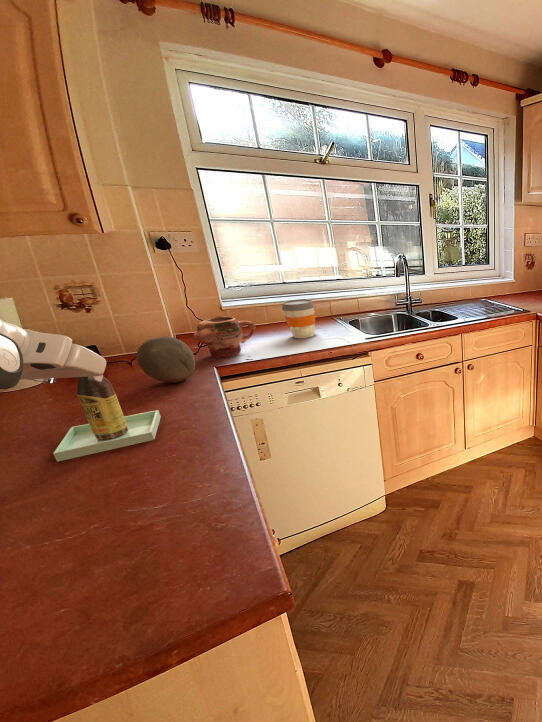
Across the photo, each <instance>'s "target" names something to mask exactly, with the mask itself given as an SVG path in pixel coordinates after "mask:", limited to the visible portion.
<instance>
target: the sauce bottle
mask: <svg viewBox="0 0 542 722" xmlns="http://www.w3.org/2000/svg"><path fill="white" fill-rule="evenodd" d="M117 396H118V395H117V394H116V392H115V390H114V387H113V385H112V382H111V381H110V380H108V378H106V377H105V376H103V379H102V381H101V382H92V381H90V380H88V377H77V388H76V397H77V398H78V400H79V404H80V406H81V408H82V411H83V413H84V415H85V418H86V420H87V422H88V423H87V424H89V425H90V428H91V430H92V432H93V434H94V435H95V437H96V438H97V439H99V440H109V439H113V438H116V437H119V436H121V435H123V434H125V433H126V432H127V431H128V428H127V423H126V421H125V418H124V417H125V415H124V412H123V410H122V408H121V404H120V402H119V399H118V397H117Z"/></svg>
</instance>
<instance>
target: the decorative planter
mask: <svg viewBox="0 0 542 722" xmlns="http://www.w3.org/2000/svg"><path fill="white" fill-rule="evenodd" d="M246 326H247V327H249V328H250V329H251V330H250V332H249V333H248V335H245V334H244V333H243V328H244V327H246ZM255 331H256V325H255V324H254V323H253V321H250V320H237V318H235V317H233V316H215V317H211V318H208V319H206V320H205V319H204V320H201V321H200V322H198V324H197V326H196V331H195V332H194V334H193V338H194V339H195V340H196V341H198V342H201V343H203V344H204V345H205V346H206V347H207V348H208V349H209V350H208V351H209V353H210V356H211V357H212V358H228V357H235V356H238V355H240V354H241V351H242V348H241V344H244V343H246V342H247V341H248V340H250V339H251V337H253V335H254V334H255Z"/></svg>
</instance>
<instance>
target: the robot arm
mask: <svg viewBox="0 0 542 722" xmlns="http://www.w3.org/2000/svg"><path fill="white" fill-rule="evenodd" d="M106 368H107V360H106V359H105V358H104V357H103V356H102V355H99V354H98V353H97V352H94V351H93V350H92V349H89V348H87V347H85V346H82V345H81V344H76V343H73V339H72V337H71V338H70V337H69V336H67V335H65V334H55V333H46V332H41V331H35V330H32V329H24V328H22V327H20V326H19V325H16V324H14V323H12V322H7V321H3V320H2V319H1V318H0V393H3V392H5V391H7V390H10V389H13V388H15V387H16V386H17V385H18V384H19V382H20V381H21V380H26V381H27V380H28V381H31V382H39V383H42V384H44V385H54V384H56V383H57V382H56V381H57V379H69V378H78V377H88V380H90V381H92V382H101V381H102V379H103V377H104V373H105V370H106Z"/></svg>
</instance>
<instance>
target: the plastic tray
mask: <svg viewBox="0 0 542 722" xmlns="http://www.w3.org/2000/svg"><path fill="white" fill-rule="evenodd" d="M124 418H125V421H126V423H127V428H128V431H127V432H126V433H125V434H123V435H121V436H119V437H116V438H113V439H109V440H99V439H97V438H96V437H95V435H94V434H93V432H92V430H91V428H90V425H89V423H85V424H81V425H75V426H71V427H70V429H69V430H68V431H67V433H66V434H65V436H64V437H63V438H62V440H61V442H60V443H59V444H58V446H57V447H56V448H55V450H54V451H53V453H52V454H53V456H54V459H55V461H56V463H58V462H62V461H67V460H71V459H75V458H76V459H77V458H81V457H84V456H88V455H92V454H98V453H101V452H106V451H110V450H116V449H119V448H124V447H129V446H133V445H137V444H142V443H146V442H150V441H155V439H156V435H157V432H158V429H159V425H160V421H161V418H162V417H161V414H160V410H159V409H155V410H151V411H147V412H140V413H136V414H131V415H124Z"/></svg>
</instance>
